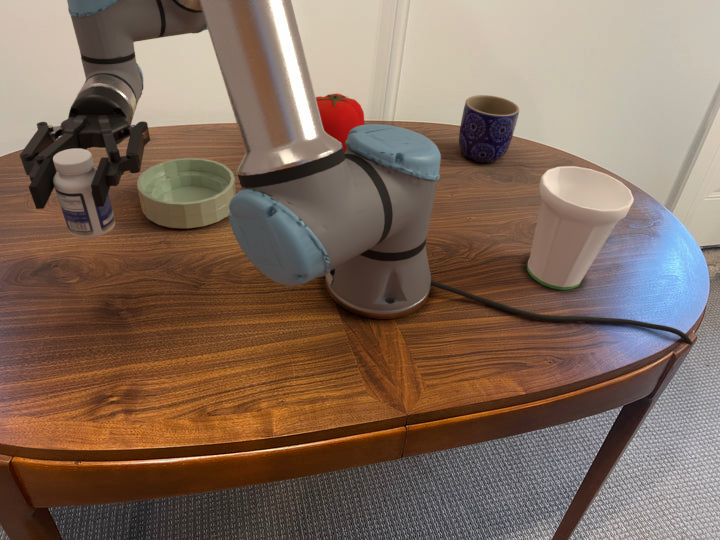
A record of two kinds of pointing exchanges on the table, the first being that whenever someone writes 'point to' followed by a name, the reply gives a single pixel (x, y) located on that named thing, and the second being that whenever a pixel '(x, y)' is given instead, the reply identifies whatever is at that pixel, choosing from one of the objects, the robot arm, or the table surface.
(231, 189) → the bowl
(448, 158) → the table surface
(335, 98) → the tomato
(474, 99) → the planter
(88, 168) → the pill bottle
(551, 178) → the cup
